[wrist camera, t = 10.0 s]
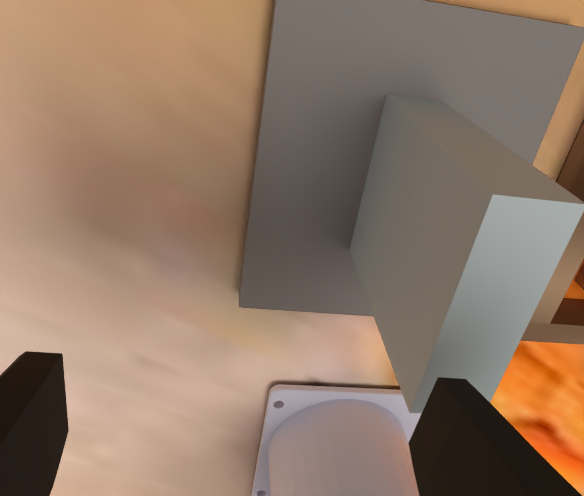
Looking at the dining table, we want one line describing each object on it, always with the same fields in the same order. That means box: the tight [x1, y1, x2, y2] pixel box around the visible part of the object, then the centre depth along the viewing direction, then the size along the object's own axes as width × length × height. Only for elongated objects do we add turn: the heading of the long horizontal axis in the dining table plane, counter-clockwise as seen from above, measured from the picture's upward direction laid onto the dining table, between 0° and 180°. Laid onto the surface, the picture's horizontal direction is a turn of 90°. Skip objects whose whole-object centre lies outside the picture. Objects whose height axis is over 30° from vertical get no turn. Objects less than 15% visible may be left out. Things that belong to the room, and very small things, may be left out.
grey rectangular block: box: [349, 94, 584, 413], centre depth 14 cm, size 6×2×8 cm, turn 171°
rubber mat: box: [239, 0, 584, 316], centre depth 18 cm, size 12×10×1 cm
